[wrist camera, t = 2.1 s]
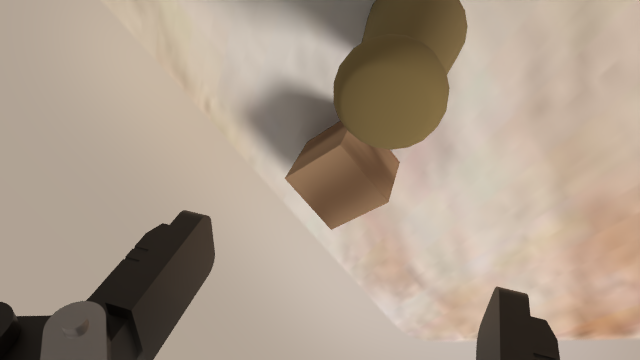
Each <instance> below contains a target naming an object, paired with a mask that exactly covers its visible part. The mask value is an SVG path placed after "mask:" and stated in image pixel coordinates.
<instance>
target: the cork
mask: <svg viewBox="0 0 640 360" xmlns="http://www.w3.org/2000/svg"><path fill="white" fill-rule="evenodd" d="M466 32H467V21H466V15H465V10H464V8H463V6H462V5H461V3H460V1H459V0H376V1H375V3H374V4H373V6H372V8H371V11H370V14H369V17H368V19H367V23H366V27H365V31H364V35H363V39H362V43H361V44H360V45H358V46H357V47H355V48H353V50H352V51H351V52H350V53H349V55H348V56H347V57H346V58H345V60H344V61H343V62H342V64H341V65H340V66H339V69H338V72H337V75H336V78H335V81H334V106H335V109H336V112H337V115H338V118H339V119H340V121H341V122H342V123H343V125H344V126H345V128H346V129H347V130H348V131H349V132H350V133H351V134H352V135H353V136H355V137H356V138H357V139H358V140H360V141H361V142H363V143H365V144H368V145H370V146H373V147H375V148H383V149H391V150H392V149H399V148H406V147H410V146H412V145H414V144H416V143H418V142H420V141H423V140H424V139H425V138H426V137H427V136H428V135H429V134H430V133H431V132H432V131H434V130H435V128H436V127H437V126H438V125H439V123H440V121H441V119H442V117H443V115H444V114H445V112H446V108H447V101H448V95H449V84H448V79H447V74H448V72H449V70H450V68H451V67H452V65H453V63H454V62H455V60H456V58H457V56H458V54H459V52H460V51H461V49H462V47H463V45H464V43H465V38H466Z"/></svg>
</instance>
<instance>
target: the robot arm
mask: <svg viewBox="0 0 640 360" xmlns="http://www.w3.org/2000/svg"><path fill="white" fill-rule="evenodd" d="M214 258H215V250H214V242H213V234H212V225H211V219H210V217H209V216H207V215H202V214H198V213H194V212H190V211H186V210H184V211H182V212H180V213H179V215H178V216H177V217H176V218H175V219H174V220H173V222H172V223H171V224H170V225H167V224H161V225H159V226H158V227H156V228H154V229H152V230H151V231H149V232H147V233H146V234H145V235H144V236H143V237H142V239H141V240H140V241H139V242H138V243H137V244H136V245H135V248H134V249H132V250H131V251H130V252H129V253H128V254H127V256H126V258H125V260H124V259H123V260H122V261H121V262H120V263H119V265H118V266H117V267H116V268H115V269H114V270H113V271H112V272H111V274H110V275H109V276H108V277H107V278H106V279H105V280H104V282H103V283H102V284H101V285H100V286H99V287H98V289H97V290H96V291H95V292H94V293H93V294H92V295H91V296H90V297H89V298H88V299H87V300H86V301H80V302H75V303H71V304H69V305H66V306H64V307H63V308H61V309H59V310H58V311H56V312H55V313H54V314H53V315H51V316H16V315H15V314H14V312H13V310H12V308H11V307H10V306H9V305H8V304H6V303H3V302H0V360H153V359H154V358H155V356H156V354H157V353H158V352H159V350H160V348H161V347H162V345H163V344H164V342H165V341H166V339H167V338H168V336H169V335H170V333H171V332H172V330H173V329H174V327H175V325H176V324H177V322H178V321H179V319H180V318H181V316H182V315H183V313H184V311H185V310H186V309H187V307H188V306H189V304H190V303H191V301H192V299H193V298H194V296H195V295H196V293H197V292H198V290H199V289H200V287H201V286H202V284H203V283H204V281H205V280H206V278H207V277H208V275H209V273H210V271H211V269H212V266H213V263H214ZM476 360H560V356H559V350H558V341H557V338H556V337H555V335H554V333H553V332H552V330H551V328H550V326H549V325H548V323H547V321H546V320H543V319H539V318H535V317H531V316H530V308H529V298H528V295H527V294H525V293H521V292H517V291H513V290H509V289H505V288H500V287H496V288H495V289H494V292H493V294H492V297H491V299H490V302H489V304H488V307H487V309H486V312H485V314H484V317H483V319H482V322H481V325H480V328H479V332H478V338H477V350H476Z"/></svg>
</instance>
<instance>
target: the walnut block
mask: <svg viewBox="0 0 640 360" xmlns="http://www.w3.org/2000/svg"><path fill="white" fill-rule="evenodd" d="M399 163H400V162H399V161H398V159H397V158H396V157H395V156H394V154H393V153H392V152H391V151H390V149H383V148H375V147H373V146H370V145H368V144H365V143H363V142H361V141H360V140H358V139H357V138H356V137H355V136H353V135H352V134H351V133H350V132H349V131H348V130H347V129H346V128H345V126H344V125H343V123H342V122H341V121H339V122H338V123H336V124H335V125H333V126H332V127H330V128H329V129H327V130H325V131H324V132H322V133H321V134H319V135H318V136H316V137H315V138H313V139H311V140H310V141H308V142H307V143H306V145H305V147H304V148H303V150H302V151H301V153H300V155H299V156H298V158H297V160H296V161H295V163H294V164H293V166H292V168H291V169H290V171H289V172H288V174H287V176H286V177H285V179H286V180H287V181H288V182H289V183H290V185H291V186H292V187H293V188H294V189H295V190H296V191H297V192H298V193H299V195H300V196H301V197H302V198H303V199H304V200H305V201H306V202H307V203H308V205H309V206H310V207H311V208H312V209H313V210H314V211H315V212H316V213H317V215H318V216H319V217H320V218H321V219H322V220H323V221H324V222H325V223H326V225H327V226H328V227H329V228H330V229H331V230H332V229H334V228H336V227H338V226H340V225H342V224H344V223H346V222H348V221H350V220H352V219H355V218H357V217H359V216H361V215H363V214H365V213H367V212H369V211H371V210H373V209H375V208H377V207H380V206H382V205H384V204H386V203H388V201H389V198H390V194H391V191H392V187H393V184H394V180H395V177H396V173H397V170H398V166H399Z"/></svg>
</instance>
